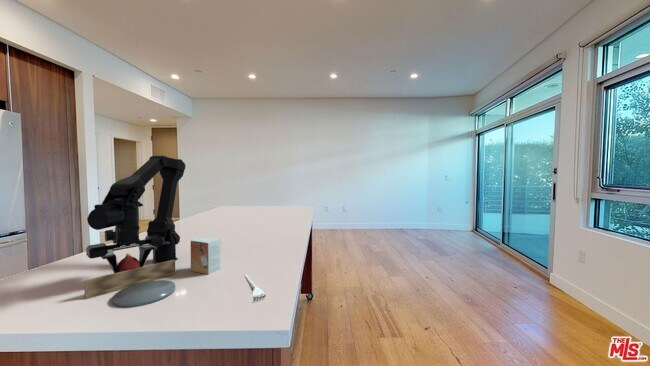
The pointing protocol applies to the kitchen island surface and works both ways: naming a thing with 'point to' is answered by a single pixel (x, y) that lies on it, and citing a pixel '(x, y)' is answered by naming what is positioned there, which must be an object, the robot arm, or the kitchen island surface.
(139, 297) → the slate plate
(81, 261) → the kitchen island surface
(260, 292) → the fork
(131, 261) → the onion
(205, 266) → the small box
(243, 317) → the kitchen island surface
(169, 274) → the walnut screen
